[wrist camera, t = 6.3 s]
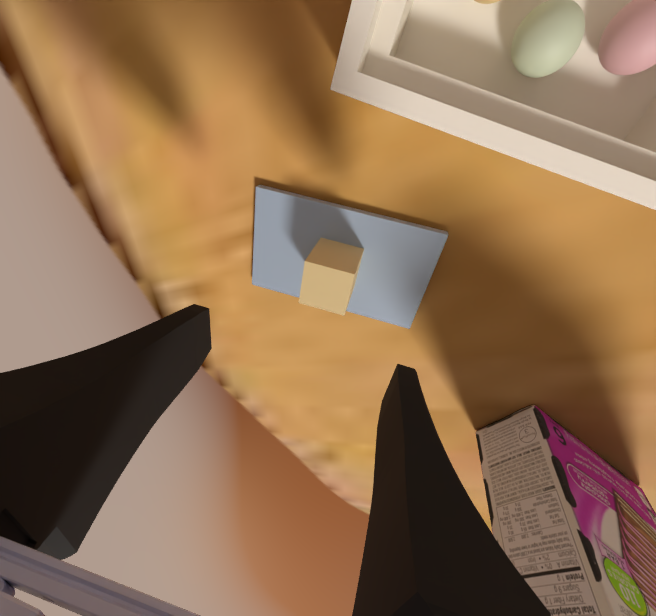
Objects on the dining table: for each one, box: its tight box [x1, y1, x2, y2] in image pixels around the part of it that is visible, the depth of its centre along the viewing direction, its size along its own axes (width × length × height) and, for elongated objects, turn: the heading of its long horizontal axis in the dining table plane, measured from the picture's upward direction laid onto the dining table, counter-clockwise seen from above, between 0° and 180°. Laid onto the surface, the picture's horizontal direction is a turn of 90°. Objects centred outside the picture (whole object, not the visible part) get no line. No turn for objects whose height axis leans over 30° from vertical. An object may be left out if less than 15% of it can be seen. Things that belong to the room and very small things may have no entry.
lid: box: [252, 185, 448, 329], centre depth 17 cm, size 10×6×4 cm, turn 80°
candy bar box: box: [476, 405, 656, 616], centre depth 16 cm, size 11×5×16 cm, turn 54°
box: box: [330, 0, 656, 210], centre depth 10 cm, size 12×8×4 cm, turn 73°
